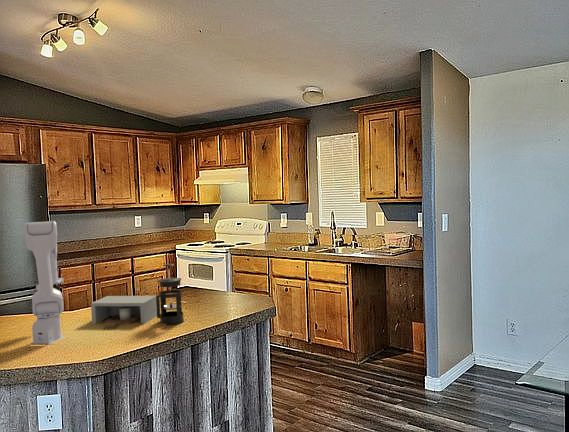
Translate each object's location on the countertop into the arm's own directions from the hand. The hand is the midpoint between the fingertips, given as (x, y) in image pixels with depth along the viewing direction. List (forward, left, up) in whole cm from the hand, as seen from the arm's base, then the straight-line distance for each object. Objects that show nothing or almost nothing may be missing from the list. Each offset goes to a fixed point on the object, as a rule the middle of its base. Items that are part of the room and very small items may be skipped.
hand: (51, 305), depth 200 cm
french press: (+10, -44, -10) cm, 46 cm away
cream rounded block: (+12, -24, -9) cm, 28 cm away
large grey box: (+12, -24, -9) cm, 29 cm away
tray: (+7, -24, -10) cm, 27 cm away
